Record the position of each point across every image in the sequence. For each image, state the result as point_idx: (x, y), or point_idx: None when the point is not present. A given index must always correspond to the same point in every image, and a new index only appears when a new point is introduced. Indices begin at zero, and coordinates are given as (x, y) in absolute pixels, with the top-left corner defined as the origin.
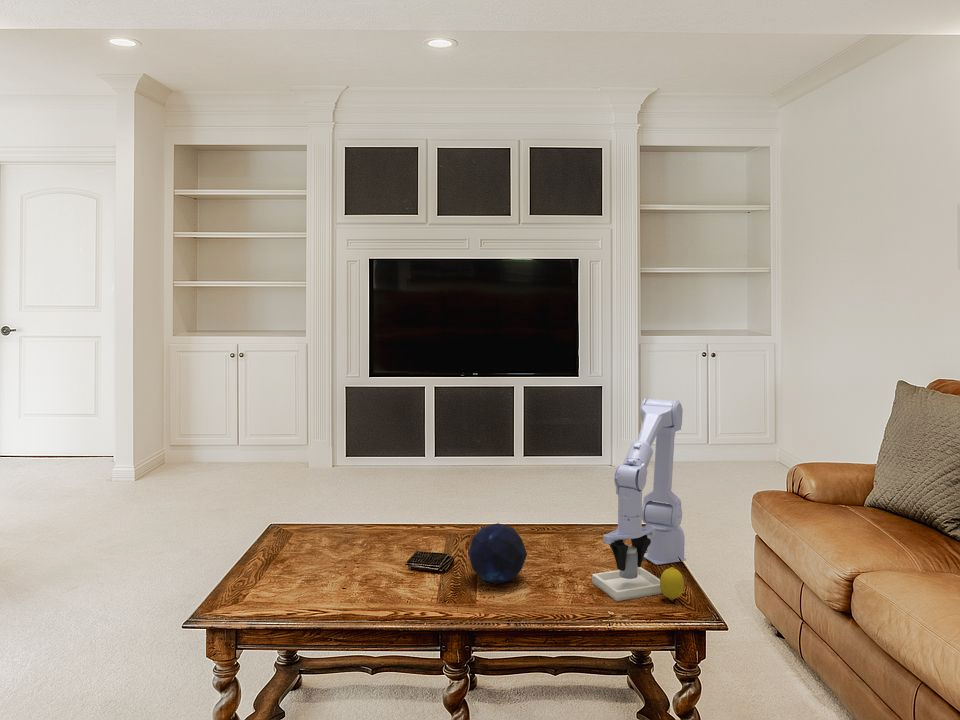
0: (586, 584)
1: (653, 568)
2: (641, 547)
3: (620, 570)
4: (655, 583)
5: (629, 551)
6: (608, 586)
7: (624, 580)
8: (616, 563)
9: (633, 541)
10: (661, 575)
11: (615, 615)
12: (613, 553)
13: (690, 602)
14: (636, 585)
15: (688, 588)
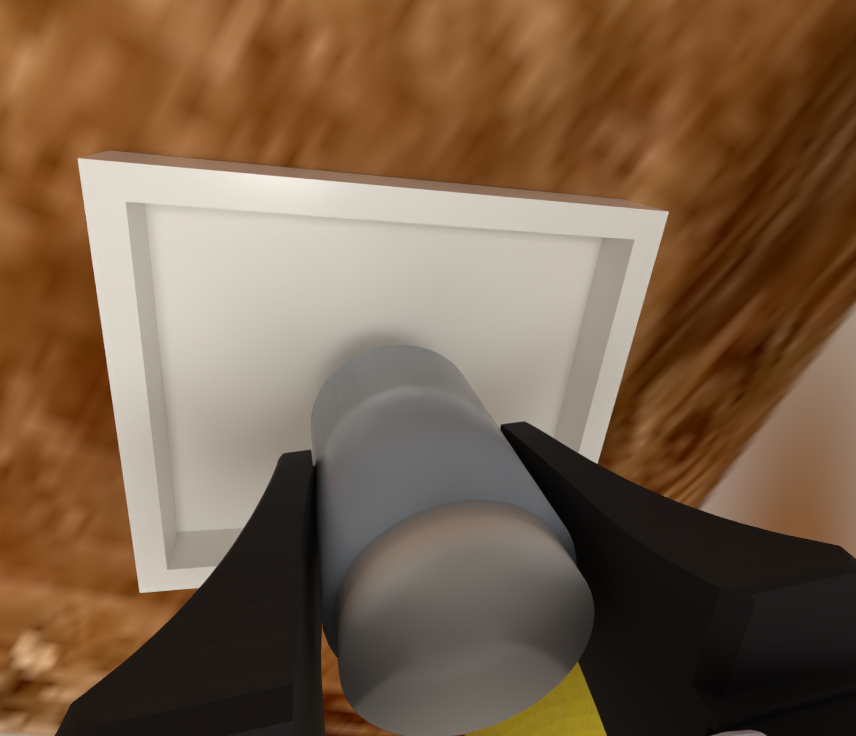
0: (29, 161)
1: (811, 122)
2: (608, 713)
3: (313, 451)
4: None
5: (402, 722)
6: (125, 484)
7: (411, 289)
8: (271, 480)
9: (660, 612)
10: (498, 723)
11: (49, 687)
12: (217, 568)
13: None
14: None
15: (688, 497)
